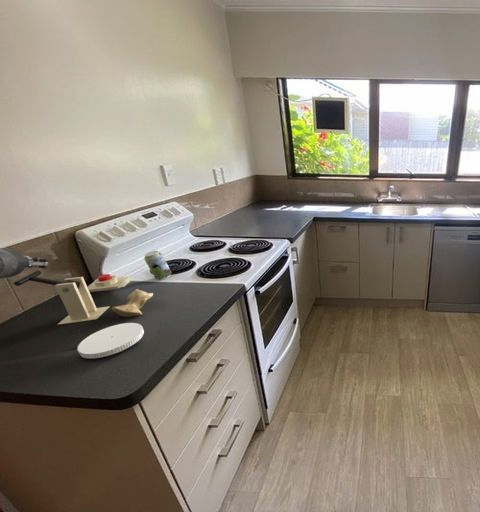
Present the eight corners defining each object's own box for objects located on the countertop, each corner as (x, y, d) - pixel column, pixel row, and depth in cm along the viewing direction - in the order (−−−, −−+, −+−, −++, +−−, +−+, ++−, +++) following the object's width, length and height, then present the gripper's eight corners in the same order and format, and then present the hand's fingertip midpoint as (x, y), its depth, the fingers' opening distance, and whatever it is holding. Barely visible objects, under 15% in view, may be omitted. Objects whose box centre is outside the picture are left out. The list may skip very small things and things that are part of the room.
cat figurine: (107, 307, 90) (130, 281, 100) (111, 321, 94) (133, 295, 104) (137, 311, 92) (157, 285, 102) (141, 325, 96) (159, 299, 106)
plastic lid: (93, 368, 74) (89, 360, 73) (72, 350, 81) (68, 343, 80) (154, 338, 86) (151, 331, 85) (132, 324, 92) (129, 318, 91)
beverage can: (174, 277, 124) (166, 251, 119) (153, 283, 118) (144, 256, 114) (170, 273, 127) (162, 248, 123) (150, 278, 122) (141, 252, 118)
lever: (13, 286, 83) (14, 279, 83) (34, 275, 90) (35, 268, 90) (68, 296, 88) (69, 289, 88) (84, 284, 95) (85, 278, 95)
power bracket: (58, 327, 90) (39, 289, 85) (75, 313, 98) (57, 277, 92) (97, 322, 93) (81, 284, 88) (110, 309, 100) (96, 273, 95)
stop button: (97, 282, 111) (95, 278, 110) (102, 278, 114) (100, 274, 114) (108, 281, 112) (107, 277, 111) (113, 277, 115) (111, 273, 115)
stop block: (84, 295, 109) (80, 286, 108) (98, 284, 117) (94, 276, 115) (119, 291, 112) (116, 282, 111) (130, 281, 120) (127, 272, 119)
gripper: (35, 251, 73) (65, 250, 88) (-50, 245, 66) (-2, 245, 81) (32, 280, 73) (62, 274, 88) (-53, 278, 66) (-5, 271, 81)
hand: (31, 260), depth 84 cm, fingers closed
